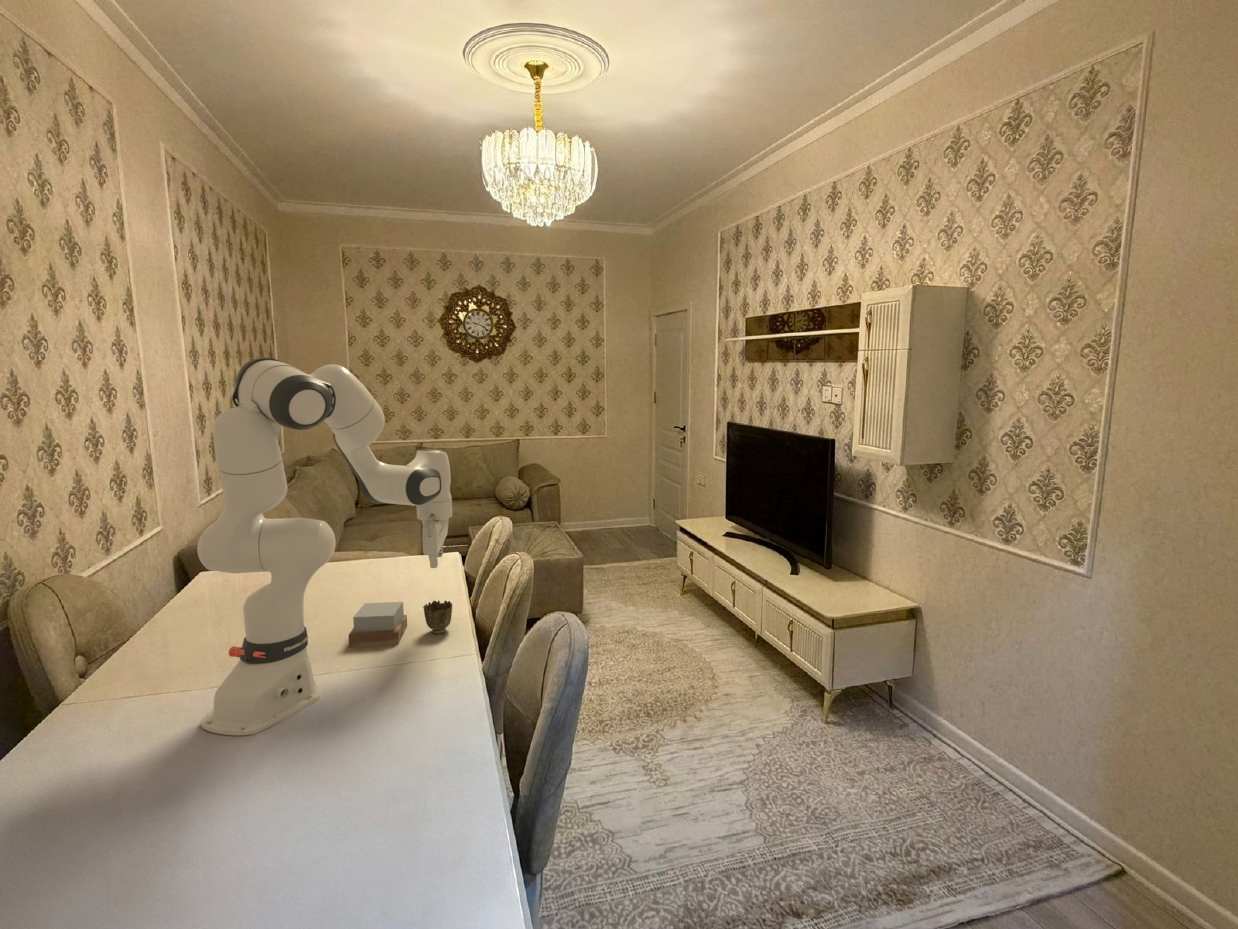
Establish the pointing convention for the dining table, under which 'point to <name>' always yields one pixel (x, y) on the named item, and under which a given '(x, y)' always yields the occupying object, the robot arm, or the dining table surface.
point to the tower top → (378, 617)
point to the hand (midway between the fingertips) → (436, 561)
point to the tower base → (378, 636)
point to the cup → (438, 616)
